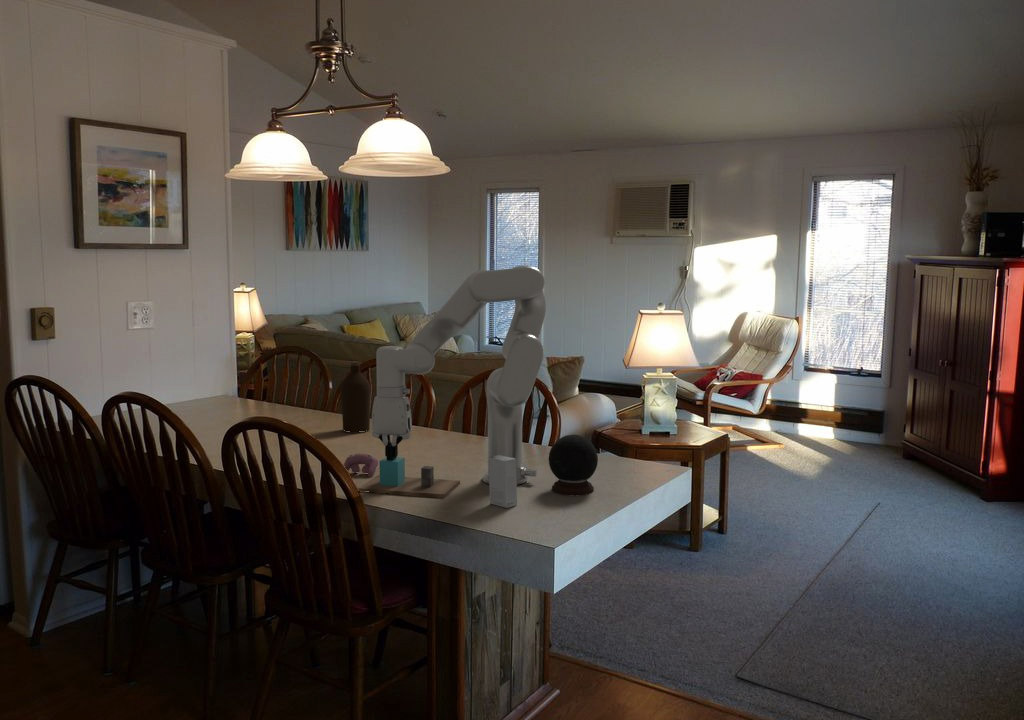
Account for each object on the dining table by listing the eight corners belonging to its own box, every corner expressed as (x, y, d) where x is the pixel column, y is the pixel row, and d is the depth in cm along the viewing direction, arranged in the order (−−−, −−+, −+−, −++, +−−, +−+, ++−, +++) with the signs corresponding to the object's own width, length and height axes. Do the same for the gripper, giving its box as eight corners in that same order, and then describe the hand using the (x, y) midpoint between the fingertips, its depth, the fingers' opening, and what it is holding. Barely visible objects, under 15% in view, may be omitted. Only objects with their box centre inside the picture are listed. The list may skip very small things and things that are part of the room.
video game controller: (377, 480, 241) (381, 456, 243) (371, 476, 237) (375, 452, 239) (345, 477, 243) (349, 454, 246) (338, 474, 239) (343, 450, 242)
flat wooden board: (459, 484, 231) (459, 462, 230) (444, 498, 217) (444, 475, 217) (378, 478, 236) (377, 457, 236) (358, 491, 223) (357, 469, 222)
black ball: (585, 499, 217) (586, 442, 215) (539, 492, 223) (540, 436, 222) (605, 487, 228) (606, 433, 227) (561, 481, 235) (561, 428, 233)
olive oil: (353, 434, 295) (352, 364, 292) (335, 430, 302) (333, 361, 299) (377, 430, 303) (376, 361, 300) (358, 426, 310) (357, 359, 307)
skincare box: (517, 505, 211) (518, 458, 210) (505, 509, 208) (505, 461, 207) (500, 500, 216) (500, 454, 214) (487, 504, 212) (487, 457, 211)
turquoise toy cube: (404, 481, 230) (404, 457, 229) (398, 486, 225) (397, 462, 224) (387, 480, 231) (386, 456, 230) (379, 485, 226) (379, 461, 225)
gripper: (422, 391, 227) (422, 458, 229) (370, 389, 230) (371, 454, 232) (412, 395, 220) (412, 464, 222) (359, 393, 223) (360, 460, 225)
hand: (391, 459), depth 227 cm, fingers closed
